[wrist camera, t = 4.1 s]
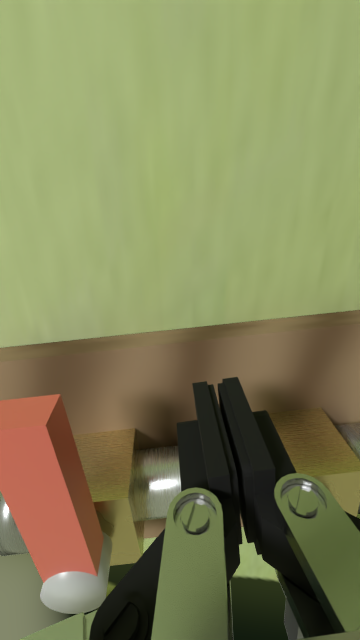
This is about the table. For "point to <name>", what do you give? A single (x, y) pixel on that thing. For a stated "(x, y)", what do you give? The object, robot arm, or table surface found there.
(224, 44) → the table surface
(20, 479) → the red valve lever
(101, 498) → the steel pipe with valves
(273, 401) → the pipe board
